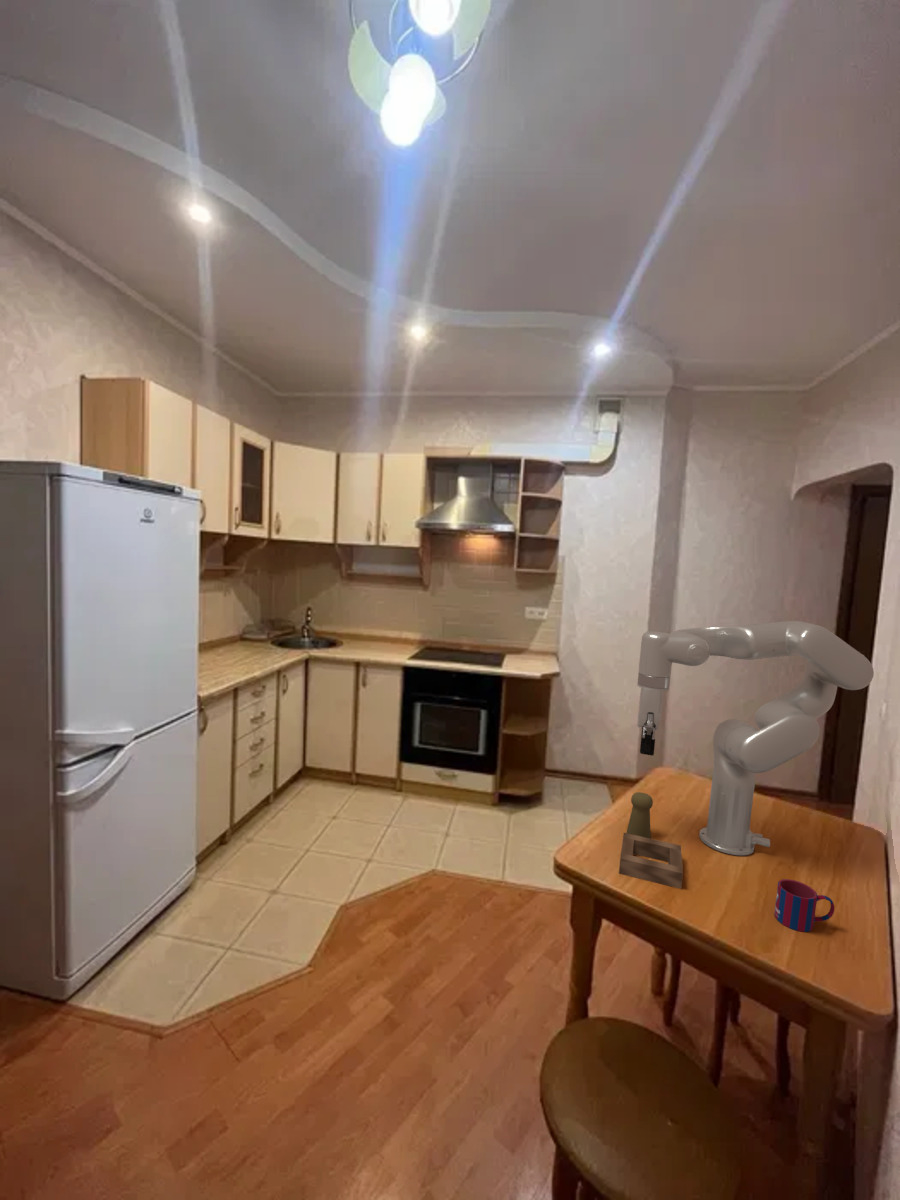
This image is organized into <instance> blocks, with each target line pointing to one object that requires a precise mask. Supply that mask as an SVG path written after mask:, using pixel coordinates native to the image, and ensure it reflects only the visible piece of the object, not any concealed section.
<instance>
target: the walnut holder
mask: <svg viewBox="0 0 900 1200" xmlns="http://www.w3.org/2000/svg"><path fill="white" fill-rule="evenodd" d="M621 842H622V843H621V851H620V857H619V867H618V868H619V870H618V874H620V875H622V876H623V875H625V876H627V877H628V876H629V877H631V878H635V879H640V880H644V881H649V882H652V883H655V884H656V883H657V884H661V885H664V886H668V887H673V888H676V889H679V888H680V889H682V887H683V877H684V871H683V868H684V867H683V855H682V854H683V853H682V846H681V845H682V844H675V843H672V842H668V841H664V840H663V841H662V840H659V839H654V838H651V839H650V838H646V837H641V836H637V835H632V834H628V833H626V832H623V836H622V841H621ZM634 855H636V856H634ZM639 856H640V857H639ZM644 857H645V858H644ZM647 858H649V859H647ZM652 859H653V860H652ZM654 860H655V861H654ZM657 860H658V861H657ZM660 861H661V862H660ZM663 862H666V863H663Z"/></svg>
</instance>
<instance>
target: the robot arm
mask: <svg viewBox="0 0 900 1200" xmlns="http://www.w3.org/2000/svg"><path fill="white" fill-rule="evenodd" d="M710 656H714V657H715V656H717V657H725V658H730V659H736V660H747V661H748V660H749V661H753V660H761V659H762V660H763V659H770V658H780V657H781V658H783V657H789V656H790V657H797V658H801V659H804V660H806V663H805V672H804V676H803V677H802V680H801V681H800V682H799V684H798V685H796V686H795V687H794V688H792V689H790V690H789V691H787V692H784V693H783V694H781V695H780V696H777V697H775V698H774V699H772V700H771V701H768V702H766V703H765V704H763V705H761V706H760V707H759V708H758V709H757V711H755V713H754V721H755V725H756V726H757V728H758V729H759V730H758V729H757V728H756V727H754V726H752V725H751V724H749V723H747V722H745V721H744V720H740V719H736V718H730V719H725V720H723V721H722V722H720V723H719V724H718V725H717V726H716V728H715V731H714V733H713V737H712V739H713V740H712V742H713V743H712V746H713V750H712V751H713V769H712V778H711V779H712V780H711V787H710V796H709V806H708V814H707V815H708V816H707V823H706V824H707V825H706V826H705V827H703V828H701V829H700V830H699V835H698V837H699V838H700V840H701V842H703V843H704V844H705V845H706V846H708V847H709V848H711V849H713V850H716V851H718V852H721V853H724V854H728V855H733V856H749V855H751V854H753V853H754V852H755V846H756V845H759V846H762V847H766V848H770V847H771V839H770V838H766V837H763V835H764V834H762V833H755V832H753V831H751V828H750V826H751V819H752V811H753V810H752V809H753V801H754V794H755V785H756V774H761V773H762V774H763V773H766V772H769V771H772V770H773V769H776V768H777V767H779V766H781V765H784V764H785V763H787V762H789V761H790V760H792V759H794V758H797V757H798V756H800V755H802V754H804V753H805V752H807V751H808V750H810V749H811V748H812V747H813V746H814V745H816V744H815V743H817V741H818V739H819V737H820V736H819V735H820V732H821V730H820V725H819V722H818V721H817V719H818V718H821V717H822V716H823V715H825V714H826V713H827V712H828V711H829V710H830V709H831V708H832V706H833V705H834V702H835V699H836V695H837V691H838V688H840V689H841V688H842V689H844V690H848V691H849V690H850V691H857V690H862V689H865V688H866V687H867V686H869V685H870V684H871V683H872V681H873V678H874V666H873V665H872V663H871V662H870V660H869V659H868V658H867V657H866V656H865V655H864V654H862V652H861V653H860V652H859V651H858V650H857V649H855V648H854V647H853V646H851V645H850V644H848V643H847V642H846V641H844V640H843V639H842V638H840V637H839V636H837V635H836V634H835V633H833V632H832V631H830V630H829V629H827V628H825V627H824V626H821V625H818V624H814V623H811V622H805V621H801V620H786V621H777V622H776V621H775V622H767V623H766V622H765V623H759V624H758V623H757V624H746V625H728V626H706V627H695V628H686V629H677V630H674V631H671V632H670V633H668V632H663V631H662V632H661V631H652V630H651V631H645V632H644V633H643V634H642V636H641V642H640V653H639V661H638V662H639V664H638V672H637V673H638V676H637V685H636V686H637V687H639V688H641V689H640V693H639V694H640V696H639V702H638V704H639V705H638V715H637V723H636V725H637V727H638V728H641V737H640V747H639V753H640V755H646V756H647V755H648V756H654V754H655V747H656V739H655V738H656V737H655V736H656V731H657V730H658V729H659V725H660V720H661V716H662V709H663V700H664V692H665V691H666V692H667V691H669V690H670V683H671V673H672V664H673V663H674V664H679V665H683V666H688V667H697V666H701V665H703V664H704V663H706V662H707V661H708V659H709V658H710Z"/></svg>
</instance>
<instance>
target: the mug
mask: <svg viewBox="0 0 900 1200" xmlns="http://www.w3.org/2000/svg"><path fill="white" fill-rule="evenodd" d="M821 900H826V901H828V902H829V904H830V909H829V911H828V913H826V914H825V915H822V916H816V911H817V910H816V908H817V904H818V903H817V902H818V901H821ZM834 913H835V904H834V901H833V900H832V898H830V897H829V896H827V895H823V894H818V893H817V892H816V890H814V889H813V888H812V887H811V886H809V885H807V884H806V883H803V882H801V881H797V880H795V879H788V878H787V879H785V878H783V879H780V880H779V881H778V882H777V889H776V898H775V905H774V917H775V918H776V919H775V920H776V921H777V922H779V923H780V924H782V926H785V927H786V928H789V929H790V930H793V931H797V932H800V933H801V932H802V933H808V932H811V931H812V930H813V929H814V924H815V923H816V922H817V923H818V922H819V923H820V922H826V921H828V920H830V919H831V918H832V917H833V915H834Z"/></svg>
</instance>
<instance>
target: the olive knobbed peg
mask: <svg viewBox="0 0 900 1200" xmlns="http://www.w3.org/2000/svg"><path fill="white" fill-rule="evenodd" d="M630 803H631V805H632V808H631V811H630V817H629V820H628V824H627V828H626V832H625V833H628V834H632V835H637V836H641V837H646V838H650V839H652V835H651V834H652V833H651V811H650V810H651V809H652V807H653V804H654V802H653V798H652V797H651V795H650V794H648V793H645V792H641V791H638V792H634V793H633V794H632V795H631V801H630Z"/></svg>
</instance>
